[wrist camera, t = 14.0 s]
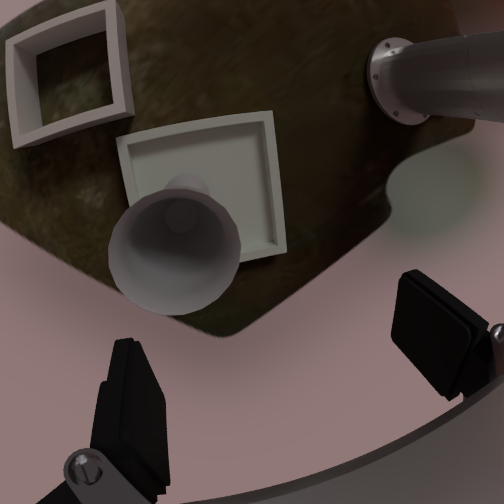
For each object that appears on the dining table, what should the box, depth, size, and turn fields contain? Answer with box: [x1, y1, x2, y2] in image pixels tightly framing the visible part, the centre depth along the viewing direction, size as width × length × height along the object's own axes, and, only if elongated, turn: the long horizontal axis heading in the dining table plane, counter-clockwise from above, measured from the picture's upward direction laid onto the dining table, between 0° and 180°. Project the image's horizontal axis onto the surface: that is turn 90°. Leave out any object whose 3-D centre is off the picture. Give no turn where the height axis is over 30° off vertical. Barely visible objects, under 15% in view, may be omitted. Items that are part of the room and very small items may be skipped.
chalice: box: [108, 174, 241, 315], centre depth 24 cm, size 7×7×18 cm
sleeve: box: [6, 0, 135, 149], centre depth 22 cm, size 12×12×6 cm
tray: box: [116, 111, 287, 262], centre depth 32 cm, size 16×16×2 cm
